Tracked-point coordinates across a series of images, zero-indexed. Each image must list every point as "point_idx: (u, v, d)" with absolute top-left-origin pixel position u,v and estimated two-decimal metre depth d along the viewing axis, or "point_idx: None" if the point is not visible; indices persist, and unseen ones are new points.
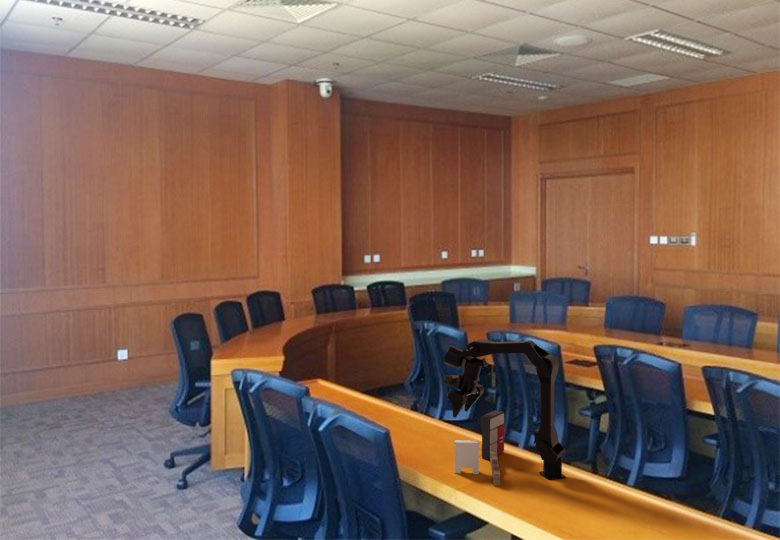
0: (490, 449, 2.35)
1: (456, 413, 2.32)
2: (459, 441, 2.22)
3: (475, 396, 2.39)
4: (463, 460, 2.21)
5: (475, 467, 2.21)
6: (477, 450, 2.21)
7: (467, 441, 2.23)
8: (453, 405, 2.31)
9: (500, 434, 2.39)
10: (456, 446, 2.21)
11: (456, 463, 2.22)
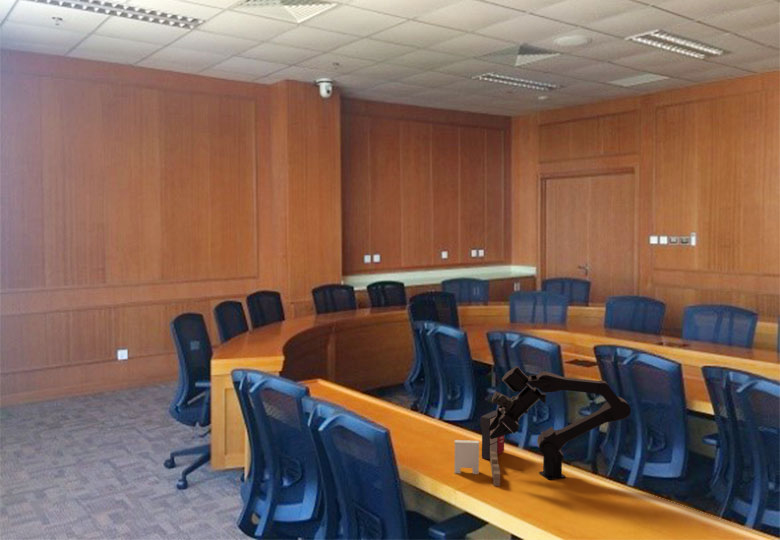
0: (490, 449, 2.35)
1: (496, 436, 2.16)
2: (459, 441, 2.22)
3: None
4: (463, 460, 2.21)
5: (475, 467, 2.21)
6: (477, 450, 2.21)
7: (467, 441, 2.23)
8: (498, 428, 2.15)
9: None
10: (456, 446, 2.21)
11: (456, 463, 2.22)
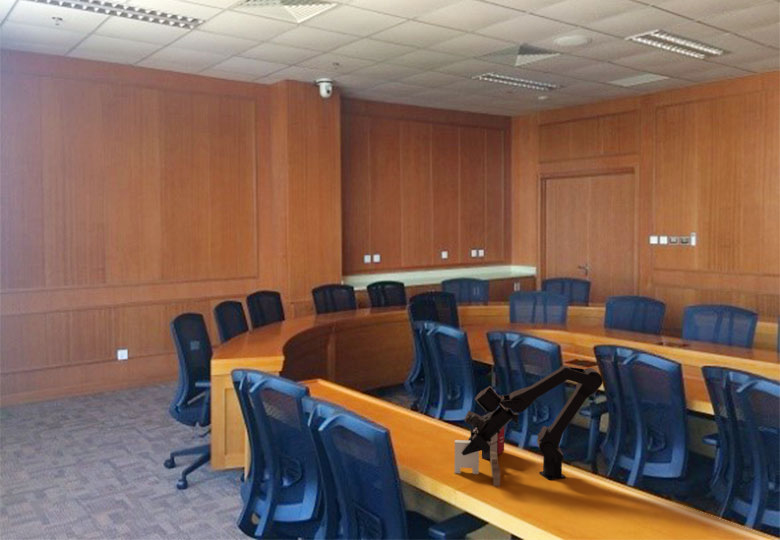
0: (490, 449, 2.35)
1: (468, 452, 2.20)
2: (459, 441, 2.22)
3: None
4: (463, 460, 2.21)
5: (475, 467, 2.21)
6: None
7: (467, 441, 2.23)
8: (470, 444, 2.19)
9: (500, 434, 2.39)
10: (456, 446, 2.21)
11: (456, 463, 2.22)
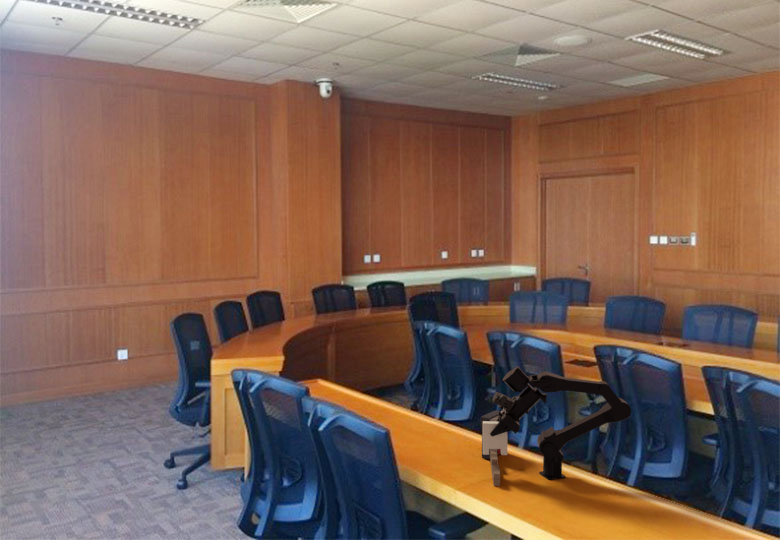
0: (490, 449, 2.35)
1: (496, 433, 2.19)
2: (487, 422, 2.21)
3: None
4: (491, 441, 2.20)
5: (504, 448, 2.20)
6: None
7: (496, 422, 2.21)
8: (499, 425, 2.18)
9: None
10: (484, 427, 2.20)
11: (485, 444, 2.20)
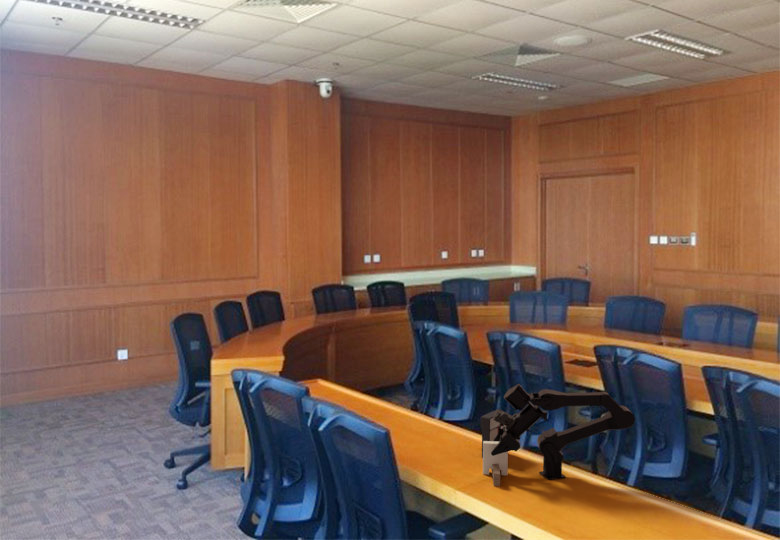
0: None
1: (497, 452, 2.17)
2: (488, 442, 2.21)
3: None
4: (491, 461, 2.20)
5: (504, 468, 2.20)
6: (506, 452, 2.20)
7: (496, 442, 2.22)
8: (499, 444, 2.16)
9: None
10: (485, 447, 2.20)
11: (485, 464, 2.21)
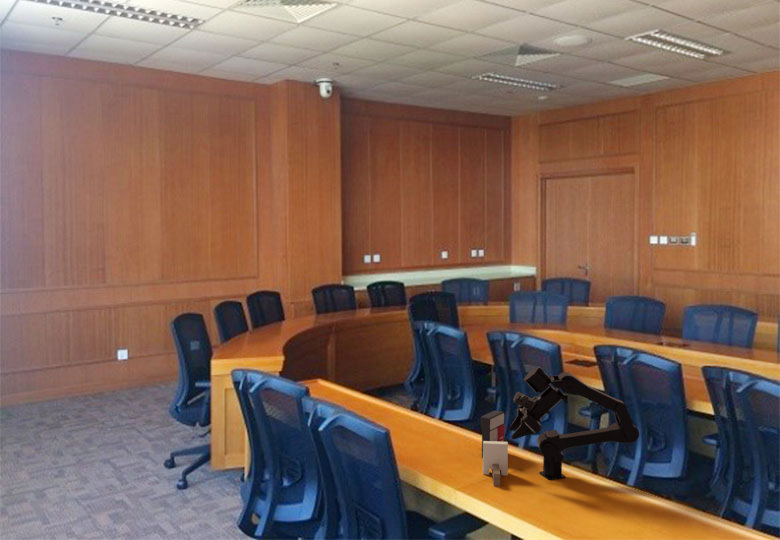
0: None
1: (518, 436, 2.15)
2: (488, 442, 2.21)
3: None
4: (491, 461, 2.20)
5: (504, 468, 2.20)
6: (506, 452, 2.20)
7: (496, 442, 2.22)
8: (520, 428, 2.14)
9: (500, 434, 2.39)
10: (485, 447, 2.20)
11: (485, 464, 2.21)
